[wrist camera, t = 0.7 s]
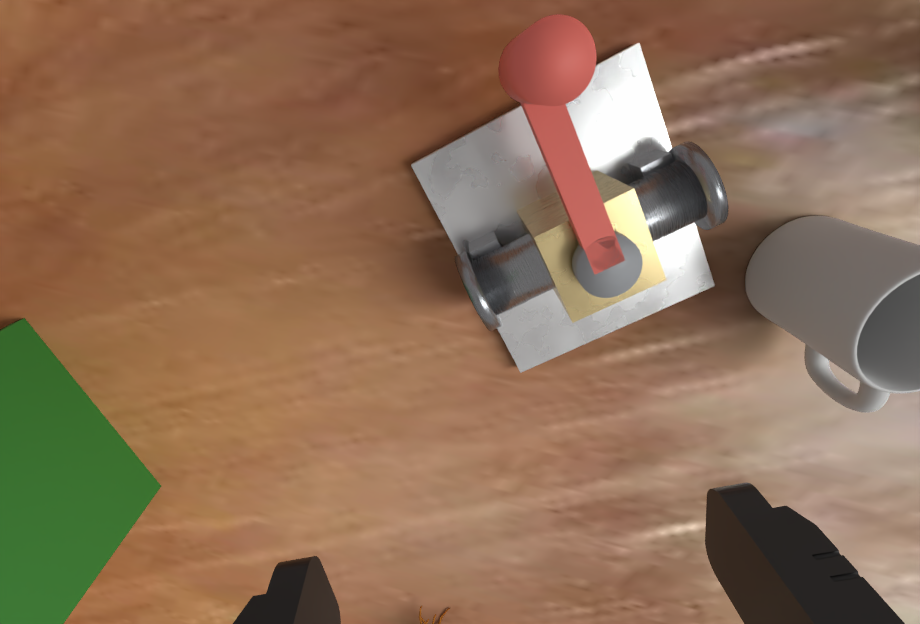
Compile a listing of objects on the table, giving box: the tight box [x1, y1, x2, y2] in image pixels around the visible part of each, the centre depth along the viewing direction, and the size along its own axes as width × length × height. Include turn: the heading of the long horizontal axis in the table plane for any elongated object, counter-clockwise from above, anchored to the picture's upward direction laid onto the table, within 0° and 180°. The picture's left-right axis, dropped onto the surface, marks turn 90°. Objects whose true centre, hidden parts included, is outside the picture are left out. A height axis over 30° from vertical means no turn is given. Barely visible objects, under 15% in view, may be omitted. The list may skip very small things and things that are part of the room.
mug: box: [745, 216, 920, 412], centre depth 34 cm, size 12×8×11 cm
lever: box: [499, 15, 643, 298], centre depth 23 cm, size 14×4×7 cm, turn 27°
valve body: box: [411, 43, 728, 372], centre depth 32 cm, size 16×18×8 cm
